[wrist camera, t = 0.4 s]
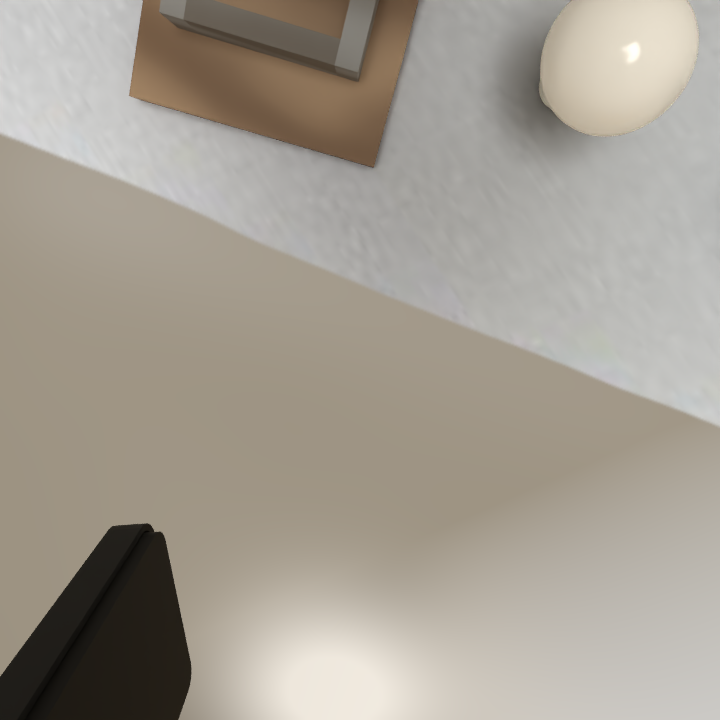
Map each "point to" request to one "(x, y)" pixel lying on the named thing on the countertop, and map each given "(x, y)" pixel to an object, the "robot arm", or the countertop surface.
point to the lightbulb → (617, 62)
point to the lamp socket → (278, 67)
